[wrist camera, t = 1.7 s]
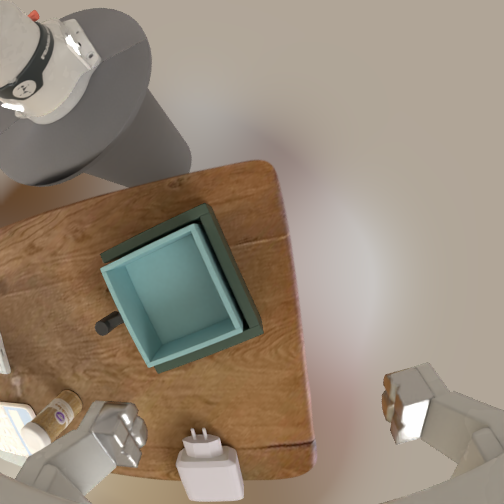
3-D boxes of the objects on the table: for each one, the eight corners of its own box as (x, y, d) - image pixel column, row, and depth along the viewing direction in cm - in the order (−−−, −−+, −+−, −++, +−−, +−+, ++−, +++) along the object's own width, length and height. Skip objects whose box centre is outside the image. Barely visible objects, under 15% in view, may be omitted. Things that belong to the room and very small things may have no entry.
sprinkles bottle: (87, 403, 42) (49, 448, 29) (75, 415, 42) (38, 458, 29) (67, 383, 42) (25, 423, 28) (56, 396, 42) (15, 435, 28)
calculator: (-24, 397, 42) (-29, 400, 40) (31, 403, 42) (26, 407, 40) (1, 447, 43) (-3, 450, 41) (60, 458, 43) (56, 463, 41)
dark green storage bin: (118, 250, 40) (99, 254, 34) (211, 206, 40) (205, 202, 34) (168, 355, 41) (157, 373, 35) (261, 319, 41) (263, 333, 35)
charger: (230, 417, 42) (243, 482, 43) (170, 420, 42) (191, 483, 43) (228, 435, 38) (243, 500, 39) (164, 437, 38) (188, 501, 39)
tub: (95, 275, 39) (71, 283, 33) (202, 224, 39) (193, 223, 32) (135, 357, 40) (119, 377, 34) (243, 315, 40) (243, 332, 33)
